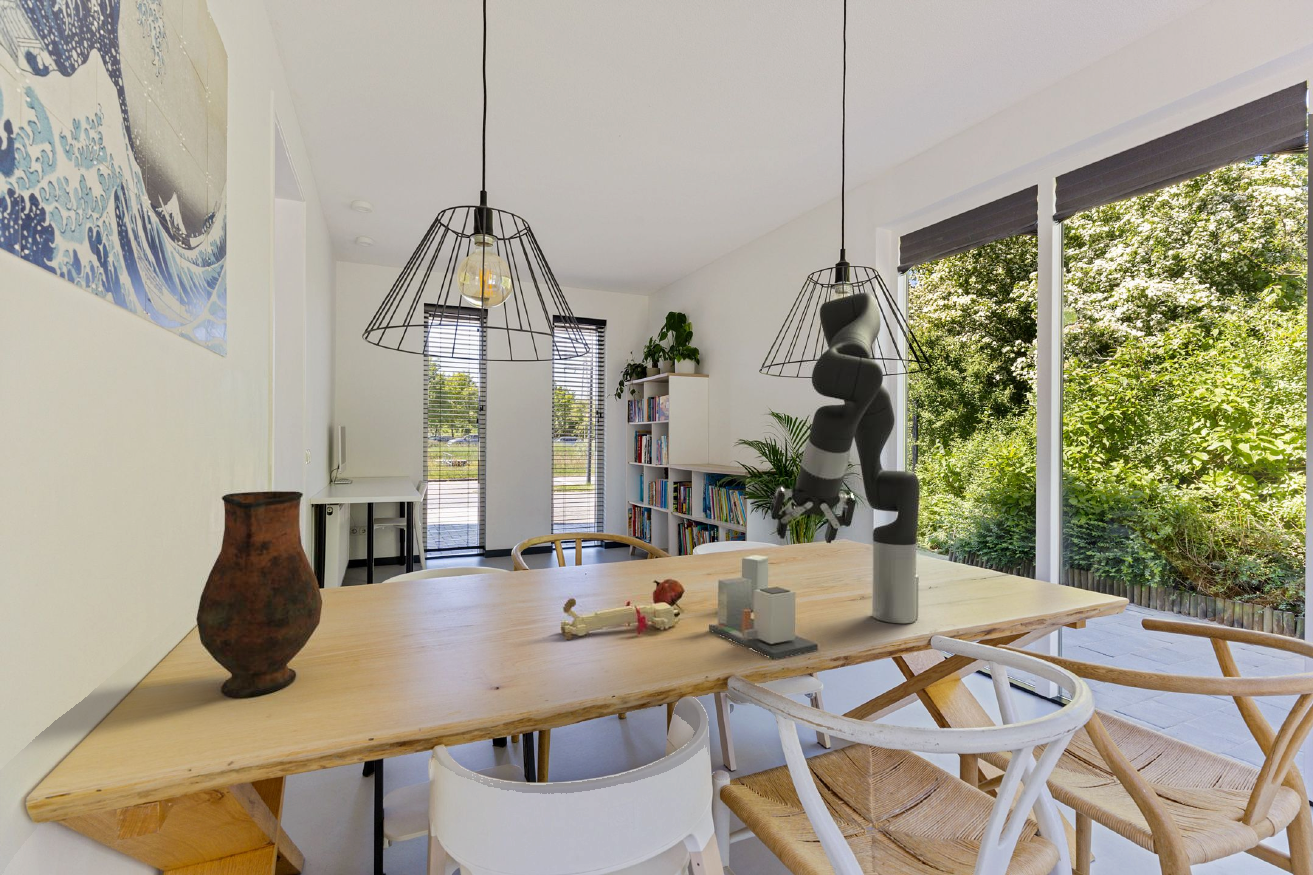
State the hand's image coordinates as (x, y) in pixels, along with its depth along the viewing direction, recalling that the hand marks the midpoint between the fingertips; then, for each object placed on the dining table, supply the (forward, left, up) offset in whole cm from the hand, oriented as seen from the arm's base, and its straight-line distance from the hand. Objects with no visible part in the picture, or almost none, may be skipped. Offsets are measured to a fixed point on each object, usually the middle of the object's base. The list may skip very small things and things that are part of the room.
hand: (804, 538), depth 115 cm
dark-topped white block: (+2, -7, -20) cm, 21 cm away
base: (+1, -11, -22) cm, 24 cm away
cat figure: (+22, -29, -22) cm, 43 cm away
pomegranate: (+5, -39, -22) cm, 45 cm away
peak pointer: (+5, -10, -20) cm, 23 cm away
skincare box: (-14, -31, -22) cm, 40 cm away
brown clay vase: (+85, -33, -22) cm, 94 cm away
